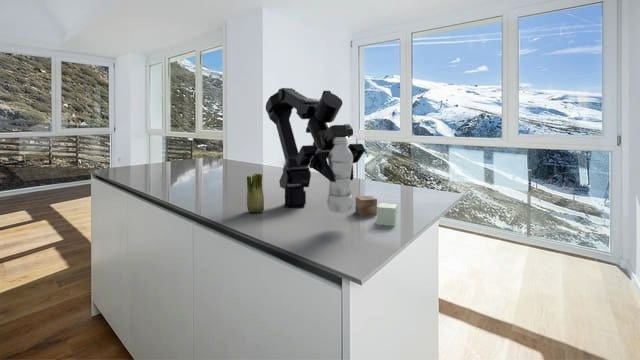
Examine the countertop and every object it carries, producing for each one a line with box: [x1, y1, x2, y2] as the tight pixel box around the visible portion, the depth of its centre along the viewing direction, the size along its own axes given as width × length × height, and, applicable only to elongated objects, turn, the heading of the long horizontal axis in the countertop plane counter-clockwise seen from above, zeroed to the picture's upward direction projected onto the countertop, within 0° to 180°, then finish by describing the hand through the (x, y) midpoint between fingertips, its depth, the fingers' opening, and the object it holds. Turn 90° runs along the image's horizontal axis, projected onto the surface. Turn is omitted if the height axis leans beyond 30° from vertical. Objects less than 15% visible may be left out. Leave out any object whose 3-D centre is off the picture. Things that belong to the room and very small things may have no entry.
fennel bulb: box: [246, 173, 265, 214], centre depth 112 cm, size 6×5×12 cm
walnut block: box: [354, 195, 378, 217], centre depth 112 cm, size 5×5×5 cm
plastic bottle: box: [326, 137, 354, 214], centre depth 95 cm, size 6×7×20 cm
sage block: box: [375, 202, 398, 227], centre depth 102 cm, size 5×5×5 cm
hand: (342, 180), depth 94 cm, fingers closed on plastic bottle, 5 cm apart
